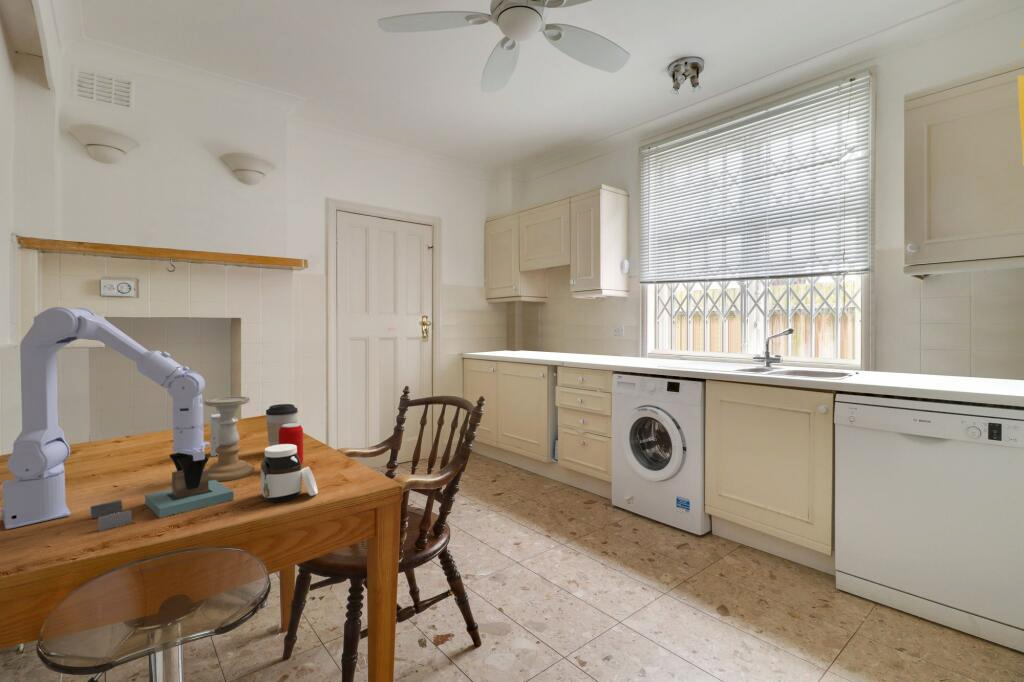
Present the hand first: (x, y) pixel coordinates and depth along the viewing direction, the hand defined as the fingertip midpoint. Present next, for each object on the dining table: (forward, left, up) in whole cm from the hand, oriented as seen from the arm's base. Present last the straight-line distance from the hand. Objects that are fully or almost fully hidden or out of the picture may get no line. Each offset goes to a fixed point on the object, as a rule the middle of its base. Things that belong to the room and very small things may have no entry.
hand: (189, 485), depth 110 cm
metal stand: (-14, 0, -4) cm, 14 cm away
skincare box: (+19, +38, -4) cm, 43 cm away
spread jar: (+17, -13, -4) cm, 22 cm away
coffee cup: (+32, +26, -4) cm, 41 cm away
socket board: (0, 0, -4) cm, 4 cm away
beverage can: (+27, +9, -4) cm, 29 cm away
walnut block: (0, 0, -2) cm, 2 cm away
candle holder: (+13, +15, -4) cm, 20 cm away
